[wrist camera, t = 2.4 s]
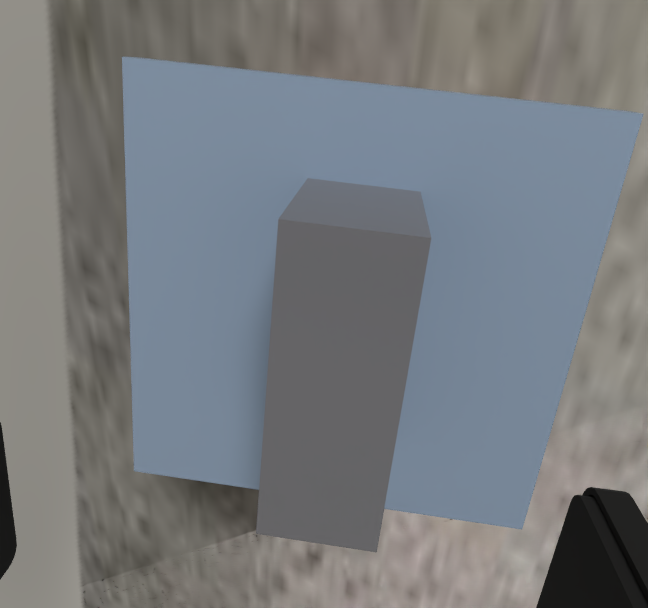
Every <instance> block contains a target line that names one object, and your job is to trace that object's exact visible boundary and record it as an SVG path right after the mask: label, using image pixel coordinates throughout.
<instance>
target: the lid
mask: <svg viewBox="0 0 648 608" xmlns="http://www.w3.org/2000/svg"><path fill="white" fill-rule="evenodd" d="M122 70H123V104H124V139H125V173H126V207H127V242H128V276H129V310H130V345H131V379H132V413H133V448H134V471H137V472H144V473H151V474H157V475H164V476H171V477H177V478H184V479H190V480H197V481H204V482H210V483H217V484H224V485H230V486H237V487H244V488H250V489H257V490H259V498H258V512H257V526H256V534H262V535H268V536H274V537H281V538H287V539H294V540H300V541H307V542H313V543H320V544H326V545H333V546H339V547H346V548H352V549H358V550H365V551H371V552H377V547H378V541H379V535H380V530H381V524H382V518H383V513H384V509H390V510H397V511H403V512H410V513H416V514H423V515H430V516H436V517H443V518H450V519H456V520H463V521H470V522H476V523H483V524H490V525H496V526H503V527H510V528H516V529H522V528H523V524H524V521H525V517H526V514H527V511H528V507H529V504H530V500H531V497H532V494H533V490H534V487H535V483H536V480H537V476H538V473H539V470H540V466H541V463H542V459H543V456H544V452H545V449H546V446H547V442H548V439H549V435H550V432H551V429H552V425H553V422H554V418H555V415H556V411H557V408H558V405H559V401H560V398H561V394H562V391H563V387H564V384H565V381H566V377H567V374H568V370H569V367H570V364H571V360H572V357H573V353H574V350H575V346H576V343H577V340H578V336H579V333H580V329H581V326H582V323H583V319H584V316H585V312H586V309H587V305H588V302H589V299H590V295H591V292H592V288H593V285H594V281H595V278H596V275H597V271H598V268H599V264H600V261H601V258H602V254H603V251H604V247H605V244H606V240H607V237H608V234H609V230H610V227H611V223H612V220H613V217H614V213H615V210H616V206H617V203H618V199H619V196H620V193H621V189H622V186H623V182H624V179H625V175H626V172H627V169H628V165H629V162H630V158H631V155H632V152H633V148H634V145H635V141H636V138H637V134H638V131H639V128H640V124H641V121H642V117H643V114H642V113H637V112H632V111H623V110H614V109H605V108H596V107H586V106H577V105H568V104H559V103H550V102H541V101H532V100H522V99H513V98H504V97H495V96H486V95H477V94H468V93H459V92H449V91H440V90H431V89H422V88H413V87H404V86H395V85H385V84H376V83H367V82H358V81H349V80H340V79H331V78H322V77H312V76H303V75H294V74H285V73H276V72H267V71H258V70H248V69H239V68H230V67H221V66H212V65H203V64H194V63H185V62H175V61H166V60H157V59H148V58H139V57H122Z"/></svg>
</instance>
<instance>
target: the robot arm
mask: <svg viewBox="0 0 648 608" xmlns="http://www.w3.org/2000/svg"><path fill="white" fill-rule="evenodd" d="M16 546H17V544H16V534H15V526H14V518H13V511H12V503H11V496H10V488H9V480H8V473H7V465H6V457H5V449H4V442H3V433H2V427H1V423H0V579H1V578H2V576H3V575H4V573H5V572H6V571H7V569H8V568H9V566H10V565H11V563H12V560H13V558H14V555H15V552H16ZM536 608H648V523H647V522H646V520H645V518H644V516H643V515H642V513H641V511H640V510H639V508H638V506H637V505H636V503H635V501H634V500H633V498H632V497H631V496H630V494H629V493H627V492H623V491H616V490H608V489H600V488H593V487H590V488H587V489H586V490H585V491H584V493H583V495H575V496H574V497H573V498H572V500H571V503H570V506H569V509H568V512H567V515H566V518H565V521H564V524H563V527H562V531H561V534H560V537H559V540H558V543H557V546H556V549H555V552H554V555H553V558H552V561H551V564H550V567H549V570H548V574H547V577H546V580H545V583H544V586H543V589H542V592H541V595H540V598H539V601H538V604H537V607H536Z"/></svg>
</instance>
